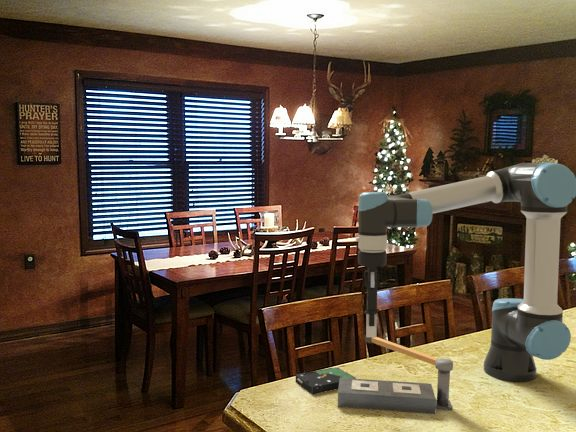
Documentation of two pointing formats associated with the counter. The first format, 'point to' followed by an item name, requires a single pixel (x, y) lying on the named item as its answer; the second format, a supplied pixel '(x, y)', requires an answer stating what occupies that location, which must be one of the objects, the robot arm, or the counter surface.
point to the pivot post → (443, 391)
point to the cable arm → (413, 353)
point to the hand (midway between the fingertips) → (371, 336)
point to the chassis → (386, 395)
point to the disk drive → (321, 379)
